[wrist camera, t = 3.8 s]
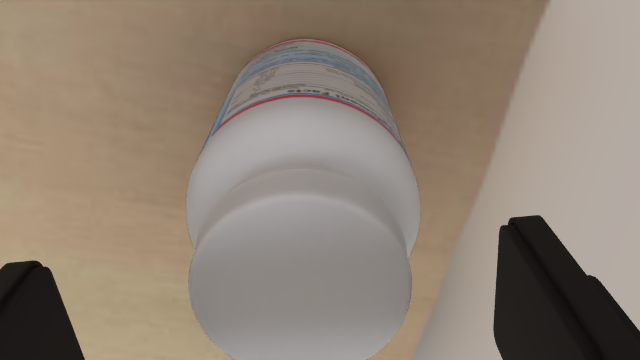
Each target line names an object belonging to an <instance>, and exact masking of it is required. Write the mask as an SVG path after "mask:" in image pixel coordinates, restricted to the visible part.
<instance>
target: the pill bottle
mask: <svg viewBox="0 0 640 360" xmlns="http://www.w3.org/2000/svg"><path fill="white" fill-rule="evenodd" d="M186 220H187V226H188V231H189V235H190V238H191V241H192V244H193V246H194V249H195V251H194V254H193V258H192V261H191V266H190V270H189V279H188V284H189V295H190V301H191V305H192V309H193V311H194V314H195V316H196V318H197V320H198V322H199V324H200V326H201V328H202V330H203V331H204V332H205V334H206V335H207V336H208V337H209V338H210V340H211V341H212V342H213V343H214V344H215V345H216V346H217V347H218V348H220V349H221V350H222V351H223V352H225V353H226V354H227V355H229V356H230V357H232V358H233V359H235V360H366V359H368V358H370V357H371V356H373V355H374V354H375V353H377V352H378V351H379V350H381V349H382V348H383V347H384V346H385V345H386V344H387V343H388V342H389V341H390V340H391V339H392V337H393V336H394V335H395V333H396V332H397V331H398V329H399V327H400V326H401V324H402V322H403V320H404V318H405V316H406V313H407V311H408V307H409V303H410V299H411V290H412V277H411V269H410V264H409V260H408V257H409V255H410V253H411V251H412V249H413V246H414V244H415V241H416V238H417V234H418V230H419V224H420V197H419V191H418V186H417V183H416V179H415V175H414V172H413V169H412V166H411V164H410V161H409V158H408V155H407V153H406V150H405V148H404V145H403V143H402V140H401V137H400V135H399V132H398V129H397V126H396V124H395V121H394V118H393V115H392V113H391V110H390V107H389V104H388V102H387V99H386V96H385V93H384V91H383V89H382V87H381V85H380V83H379V81H378V79H377V78H376V76H375V75H374V73H373V72H372V71H371V70H370V68H369V67H368V66H367V65H366V64H365V63H364V62H363V61H362V60H360V59H359V58H358V57H356V56H355V55H354V54H352V53H350V52H349V51H347V50H345V49H343V48H341V47H339V46H337V45H334V44H331V43H328V42H324V41H320V40H314V39H295V40H289V41H285V42H281V43H278V44H276V45H273V46H271V47H269V48H267V49H265V50H264V51H262V52H260V53H259V54H258V55H256V56H255V57H254V58H253V59H252V60H250V61H249V63H248V64H247V65H246V66H245V67H244V68H243V69H242V71H241V72H240V73H239V75H238V77H237V78H236V80H235V82H234V84H233V86H232V88H231V90H230V92H229V94H228V96H227V98H226V100H225V102H224V104H223V106H222V108H221V110H220V112H219V114H218V117H217V119H216V121H215V123H214V125H213V127H212V129H211V131H210V134H209V136H208V138H207V140H206V142H205V144H204V146H203V148H202V150H201V152H200V155H199V157H198V159H197V161H196V164H195V166H194V169H193V171H192V174H191V177H190V181H189V184H188V188H187V195H186Z"/></svg>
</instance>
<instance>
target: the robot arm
mask: <svg viewBox="0 0 640 360" xmlns="http://www.w3.org/2000/svg"><path fill="white" fill-rule="evenodd" d="M494 337H495V342H496V345H497V347H498V350H499V352H500V354H501V357H502V359H503V360H640V331H639V330H638V329H637V327H636V326H635V325H634V324H633V322H632V321H631V320H630V319H629V317H628V316H627V315H626V313H625V312H624V311H623V310H622V309H621V307H620V306H619V305H618V304H617V302H616V301H615V300H614V299H613V297H612V296H611V295H610V293H609V292H608V291H607V290H606V288H605V287H604V286H603V285H602V283H601V282H600V281H599V280H598V279H597V278H596V277H593V276H591V275H588V276H587V275H586V274H585V272H584V271H583V270H582V269H581V267H580V266H579V265H578V263H577V262H576V261H575V259H574V258H573V257H572V256H571V254H570V253H569V252H568V251H567V249H566V248H565V246H564V245H563V244H562V242H561V241H560V240H559V239H558V237H557V236H556V235H555V233H554V232H553V231H552V230H551V228H550V227H549V226H548V224H547V223H546V222H545V220H544V219H543V218H542V217H541V216H538V215H536V216H525V217H514V218H510V220H509V222H508V225H503V226H501V227H500V231H499V245H498V262H497V278H496V294H495V310H494ZM0 360H85V359H84V356H83V353H82V351H81V348H80V346H79V343H78V340H77V338H76V335H75V332H74V330H73V327H72V325H71V322H70V319H69V317H68V314H67V311H66V309H65V306H64V304H63V301H62V298H61V296H60V293H59V290H58V288H57V285H56V283H55V280H54V277H53V275H52V272H51V270H50V269H49V268H48V267H43V266H42V264H41V263H40V262H38V261H25V262H14V263H7V264H6V265H4V266H3V267H2V268H1V269H0Z"/></svg>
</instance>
